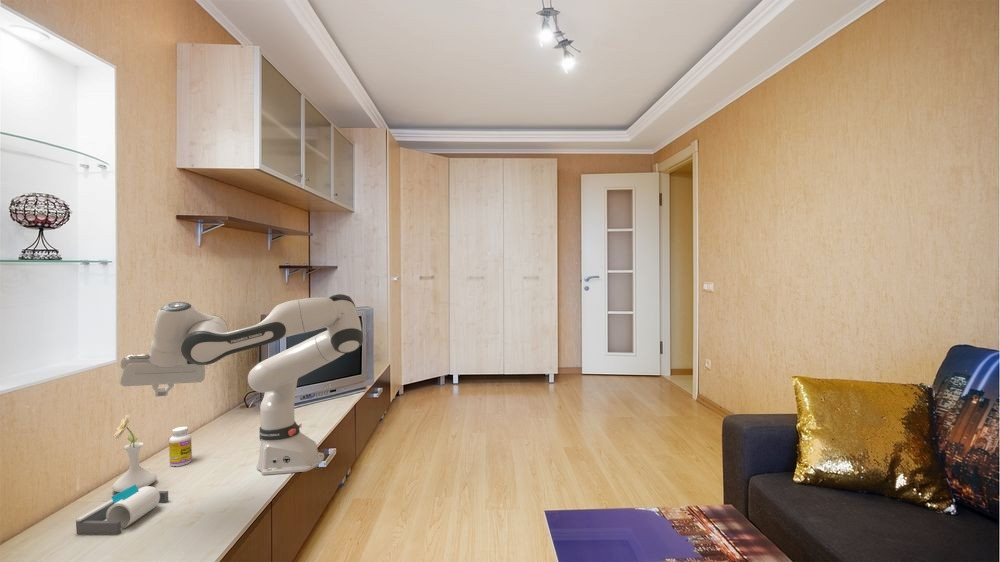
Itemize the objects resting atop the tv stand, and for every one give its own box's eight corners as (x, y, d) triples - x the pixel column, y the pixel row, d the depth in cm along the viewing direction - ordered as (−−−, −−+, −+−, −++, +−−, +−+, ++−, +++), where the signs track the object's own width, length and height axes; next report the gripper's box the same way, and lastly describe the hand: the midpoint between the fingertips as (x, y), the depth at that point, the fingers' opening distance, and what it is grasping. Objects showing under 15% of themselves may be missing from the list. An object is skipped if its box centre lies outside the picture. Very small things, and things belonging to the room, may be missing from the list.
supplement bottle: (180, 467, 160) (179, 432, 159) (165, 466, 161) (163, 431, 161) (196, 460, 166) (195, 426, 166) (181, 458, 167) (180, 425, 167)
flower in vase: (120, 483, 149) (117, 409, 148) (161, 476, 153) (158, 404, 153) (103, 501, 137) (100, 421, 136) (149, 493, 141) (146, 415, 141)
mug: (156, 472, 134) (121, 492, 122) (169, 499, 134) (136, 522, 122) (121, 488, 134) (83, 510, 122) (134, 515, 134) (98, 540, 122)
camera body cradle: (168, 500, 136) (167, 487, 136) (117, 534, 119) (116, 519, 119) (132, 500, 137) (131, 487, 137) (76, 534, 120) (75, 519, 120)
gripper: (122, 360, 122) (115, 404, 125) (209, 358, 135) (202, 398, 138) (121, 349, 126) (115, 392, 129) (206, 348, 140) (199, 387, 143)
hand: (161, 395), depth 134 cm, fingers closed
